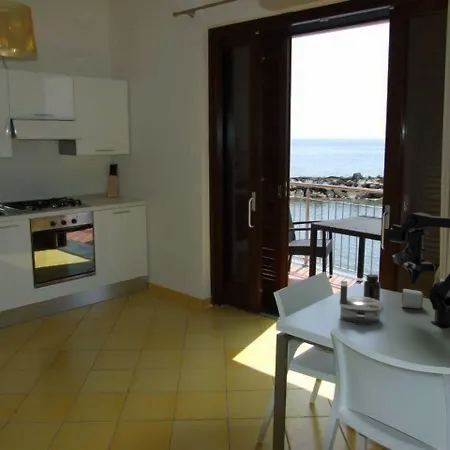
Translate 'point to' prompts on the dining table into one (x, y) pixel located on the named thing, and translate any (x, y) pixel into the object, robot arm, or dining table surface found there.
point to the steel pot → (360, 316)
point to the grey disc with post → (357, 301)
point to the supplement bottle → (372, 287)
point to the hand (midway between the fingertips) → (412, 284)
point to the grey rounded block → (412, 299)
